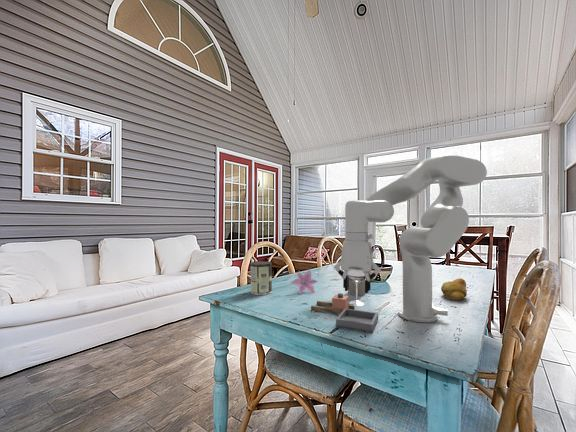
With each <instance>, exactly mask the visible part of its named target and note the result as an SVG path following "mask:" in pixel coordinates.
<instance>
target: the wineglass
mask: <svg viewBox="0 0 576 432" xmlns="http://www.w3.org/2000/svg"><path fill="white" fill-rule="evenodd" d="M348 269H349V270H348V271H347V277H348V278H349V279H350V281H352V282H354V284H356V295H355V300H350V301H349V305H355V306H363V305H365V303H364V302H363V301H360V300H359V299H358V296H359V295H358V284H359V283H360V282H362V281H364V280H365V281H366V277H365V273H364V272H362V270H363V269H353V268H348Z"/></svg>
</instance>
